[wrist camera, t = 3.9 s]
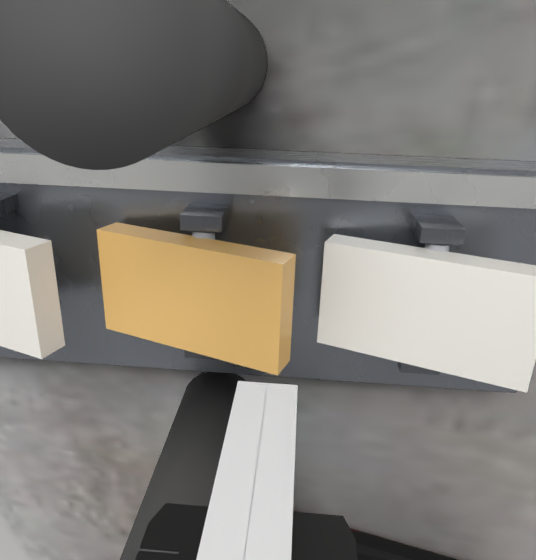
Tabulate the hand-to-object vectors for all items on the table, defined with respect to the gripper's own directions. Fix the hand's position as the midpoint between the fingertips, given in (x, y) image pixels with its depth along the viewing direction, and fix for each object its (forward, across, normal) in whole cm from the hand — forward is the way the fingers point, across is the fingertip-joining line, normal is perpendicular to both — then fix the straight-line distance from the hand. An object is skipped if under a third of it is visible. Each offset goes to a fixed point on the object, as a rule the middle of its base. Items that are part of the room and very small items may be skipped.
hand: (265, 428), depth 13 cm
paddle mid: (+8, -3, 0) cm, 9 cm away
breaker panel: (+12, -3, 0) cm, 13 cm away
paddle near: (+8, +6, 0) cm, 10 cm away
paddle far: (+8, -12, 0) cm, 15 cm away
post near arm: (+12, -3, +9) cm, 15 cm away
